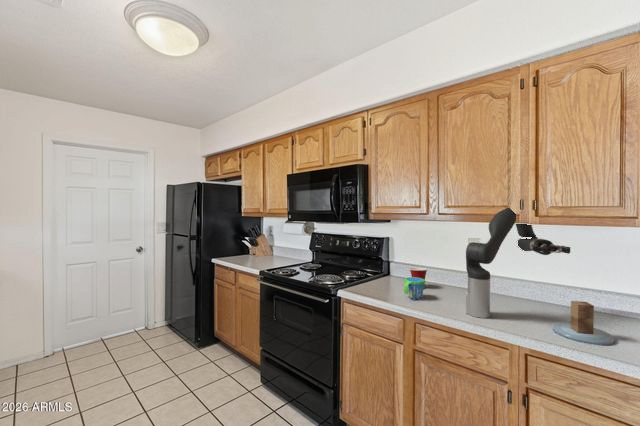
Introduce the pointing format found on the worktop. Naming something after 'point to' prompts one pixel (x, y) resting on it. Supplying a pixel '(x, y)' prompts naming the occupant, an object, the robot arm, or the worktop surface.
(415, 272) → the plastic cup
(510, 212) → the robot arm
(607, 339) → the slate plate
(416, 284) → the snack cup
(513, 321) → the worktop surface
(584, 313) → the walnut block
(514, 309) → the worktop surface
